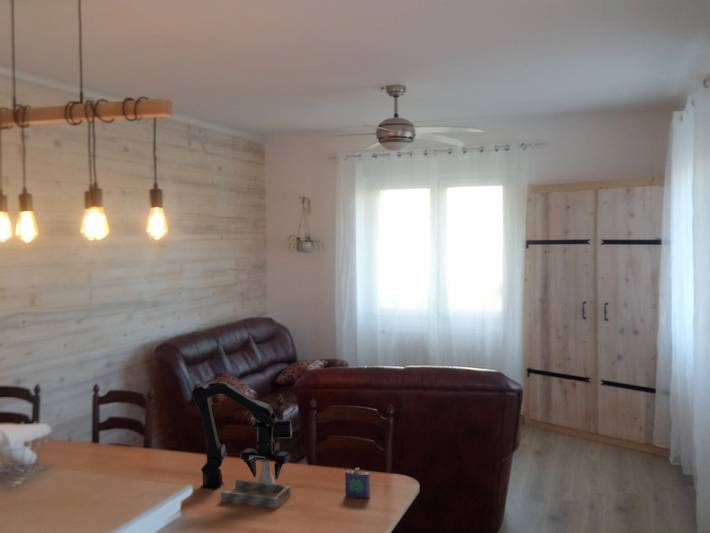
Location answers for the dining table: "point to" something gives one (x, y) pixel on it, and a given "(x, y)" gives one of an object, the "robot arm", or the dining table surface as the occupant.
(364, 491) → the flask
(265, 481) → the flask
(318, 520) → the dining table surface
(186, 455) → the dining table surface
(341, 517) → the dining table surface
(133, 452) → the dining table surface
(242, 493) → the grey rectangular tray
